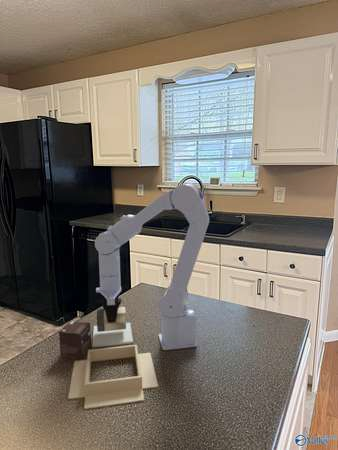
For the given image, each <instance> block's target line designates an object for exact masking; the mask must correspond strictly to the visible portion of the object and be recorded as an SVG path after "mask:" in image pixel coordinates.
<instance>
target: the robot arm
mask: <svg viewBox="0 0 338 450" xmlns="http://www.w3.org/2000/svg"><path fill="white" fill-rule="evenodd" d="M175 208H176V209H177V210H178V211H179V212H180V213H182V214H183V216H184V217H185V218H186V220H187V222H188V223H189V226H188V229H187V231H186V235H185V238H184V241H183V244H182V248H181V250H180V254H179V257H178V259H177V262H176V265H175V269H174V272H173V275H172V279H171V281H170V284H169V286H168V287H167V288H166V291H165V293H164V294H163V297H162V298H160V301H159V309H160V311H161V312H160V313H161V316H160V317H161V321H160V322H161V325H160V326H161V333H159V334H158V338H159V342H160V346H161V349H162V350H163V351H168V350H169V351H170V350H171V351H172V350H179V349H188V348H196V347H197V346H198V344H197V317H196V313H195V311H194V309H188V308H187V307H188V306H186V304H185V303H186V302H187V299H188V297H189V293H188V292H189V290H188V286H189V283H190V280H191V276H192V275H193V271H194V268H195V266H196V265H195V264H196V262H197V260H198V256H199V253H200V250H201V247H202V245H203V242H204V238H205V236H206V232H207V229H208V226H209V225H210V216H209V212H208V209H207V205H206V200H205V196H204V193H203V192H202V191H201V189H200V188H199V187H198V185H197V184H195V183H193V182H185V183H183V184H179V185H177V186H176V187H174V188H173V189H171V190H169V191H167V192H165V193H163V194H161V195H159V196H158V197H157V198H156V199H155V200H153V201H152V202H151V203H149V204H148V205H147V206H145V207H144V208H143V209H142V210H140V211H139V212H138V213H137V214H130V213H129V214H127V215H125V214H123V215H122V216H121V217H119V221H117V222H116V223H114V224H113V225H109V226H107V228H106V229H107V230H106V231H104V232H101V233H99V234H98V236H96V238H95V240H94V247H95V249H96V251H97V252H98V267H99V268H98V269H99V270H98V271H99V286H100V287H96V288H95V292H96V293H99V294H100V295H101V296H102V298H100V304H101V306H102V309H104V310H105V313H106V317H107V321H108V323H113V322H116V318H117V311H118V308H119V307H120V305H121V304H122V298H119V296H120V294H121V292H122V290H123V289H122V286H121V283H122V281H121V256H120V248H121V246H123V245H124V244H125V243H127V242H128V241H129V240H131V239H133V238H134V237H135V236H137V235H138V234H140V233H141V232H142V228H143V225H144V224H145V223H146V222H149V221H150V220H151V219H153V218H155V217H156V216H157V215H159V214H160V213H161V212H163V211H165V210H166V211H167V210H168V211H171V210H174V209H175Z"/></svg>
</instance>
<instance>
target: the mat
mask: <svg viewBox="0 0 338 450" xmlns="http://www.w3.org/2000/svg"><path fill="white" fill-rule="evenodd" d="M92 332H93V333H92V342H91V349H94V348H102V347H109V346H110V347H112V346H119V345H120V346H122V345H131V344H133V343H134V340H133V333H132V332H133V331H132V325H131V322H130V321H129V322H126V329H121V330H111V331H101V332H97V325H93V331H92Z"/></svg>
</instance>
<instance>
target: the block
mask: <svg viewBox="0 0 338 450" xmlns="http://www.w3.org/2000/svg"><path fill="white" fill-rule="evenodd" d="M126 314H127V313H126V307H125V306H119V308H118V311H117V318H116V322H113V323H108V321H107V317H106V313H105V310H104V308H97V309H96V326H97V332H101V331H111V330H121V329H126V323H127V322H126V320H127V319H126V318H127V317H126V316H127V315H126Z"/></svg>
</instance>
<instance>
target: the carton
mask: <svg viewBox="0 0 338 450" xmlns="http://www.w3.org/2000/svg"><path fill="white" fill-rule="evenodd" d="M138 350H139V349H138V344H127V345H120V346H119V345H118V346H110V347H104V348H102V347H100V348H91V349H90V350H88V353H87V359H82V360H75V361H73V367H72V373H71V379H70V380H71V381H70V385H69V392H68V398H67V399H68V400H75V399H82V398H84V404H83V405H84V406H83V407H84V408H83V409H84V410H90V409H96V408H103V407H104V408H105V407H110V406H117V405H123V404H124V405H125V404H130V403H138V402H144V401H145V396H144V391H143V390H148V389H156V388H159V384H158V380H157V376H156V370H155V367H154V362H153V359H152V358H153V357H152V355H151V352H143V353H139V351H138ZM125 358H135V359H134V360H135V364H136V365H135V366H136V373H137V375H134V376H127V377H119V378H113V379H105V380H104V379H103V380H96V381H91V369H92V367H91V366H92V362H93V363H94V362H102V361H109V360H118V359H125Z"/></svg>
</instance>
